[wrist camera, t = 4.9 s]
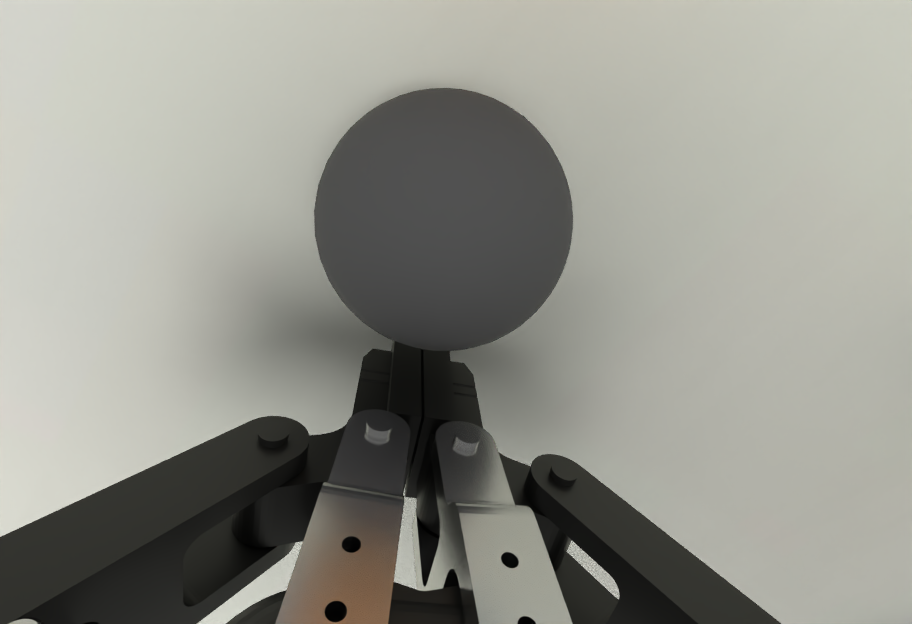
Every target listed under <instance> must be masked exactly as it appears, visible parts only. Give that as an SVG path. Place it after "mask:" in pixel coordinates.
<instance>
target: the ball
mask: <svg viewBox="0 0 912 624" xmlns="http://www.w3.org/2000/svg"><path fill="white" fill-rule="evenodd" d="M314 215H315V237H316V242H317V246H318V251H319V255H320V260H321V262H322V264H323V267H324V269H325V272H326V274H327V276H328V279H329V281H330V283H331V284H332V286H333V288H334V289H335V291H336V292H337V294H338V295H339V297H340V298H341V300H342V301H343V302H344V303H345V305H346V306H347V307H348V308H349V309H350V310H351V311H352V312H353V313H354V314H355V315H356V316H357V317H358V318H359V319H360V320H361V321H362V322H364V323H365V324H367V325H368V326H369V327H371V328H372V329H374V330H375V331H377V332H378V333H380V334H382V335H383V336H385V337H387V338H389V339H392V340H394V341H396V342H399V343H402V344H405V345H408V346H411V347H415V348H420V349H425V350H433V351H454V350H463V349H468V348H473V347H477V346H480V345H483V344H487V343H490V342H492V341H495V340H497V339H499V338H501V337H503V336H505V335H506V334H508V333H510V332H511V331H513V330H515V329H516V328H518V327H519V326H521V325H522V324H523V323H524V322H525V321H526V320H528V319H529V318H530V317H531V316H532V315H533V314H534V313H535V312H536V311H537V310H538V309H539V308H540V307H541V306H542V304H543V303H544V302H545V301H546V299H547V298H548V297H549V295H550V294H551V292H552V291H553V289H554V287H555V286H556V284H557V282H558V280H559V278H560V276H561V274H562V271H563V269H564V266H565V264H566V260H567V257H568V254H569V249H570V245H571V239H572V230H573V212H572V201H571V196H570V190H569V187H568V183H567V179H566V177H565V174H564V171H563V169H562V166H561V164H560V162H559V160H558V158H557V156H556V155H555V153H554V151H553V149H552V148H551V146H550V144H549V143H548V142H547V141H546V140H545V138H544V137H543V136H542V135H541V133H540V132H539V131H538V130H537V129H536V128H535V126H533V125H532V124H531V123H530V122H529V121H528V120H527V119H526V118H525V117H524V116H522V115H521V114H519V113H518V112H516V111H515V110H513V109H512V108H510V107H509V106H507V105H505V104H503V103H501V102H499V101H497V100H495V99H493V98H491V97H488V96H485V95H482V94H480V93H476V92H472V91H467V90H462V89H451V88H435V89H425V90H419V91H414V92H410V93H407V94H404V95H400V96H398V97H396V98H394V99H391V100H389V101H387V102H385V103H383V104H381V105H379V106H378V107H376V108H374V109H373V110H371V111H370V112H368V113H367V114H366V115H364V116H363V117H362V118H361V119H360V120H359V121H357V122H356V123H355V124H354V125H353V126H352V127H351V128H350V129H349V130H348V131H347V133H346V134H345V135H344V136H343V137H342V138H341V140H340V141H339V143H338V144H337V146H336V148H335V149H334V151H333V152H332V154H331V156H330V158H329V159H328V161H327V163H326V166H325V169H324V171H323V174H322V177H321V180H320V182H319V185H318V191H317V197H316V203H315V210H314Z"/></svg>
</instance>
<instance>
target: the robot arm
mask: <svg viewBox="0 0 912 624" xmlns="http://www.w3.org/2000/svg"><path fill="white" fill-rule="evenodd" d="M405 484H406V487H405ZM404 488H405V497H412V498H417V508H416V512H415V515H414V519H413V523H412V533H413V546H414V559H415V572H416V585H417V590H416V589H413V588H410V587H407V586H404V585H401V584H398V583H395V582H394V574H395V566H396V559H397V551H398V543H399V536H400V528H401V520H402V513H403V505H404V496H403V492H404ZM571 540H572V541H574V542H575V543H576V544H577V545H578V546H579V547H580V548H581V549H582V550H583V551H585V552H586V553H587V554H588V555H589V556H590V557H591V558H592V559H593V560H594V561H596V562H597V563H598V564H599V565H600V566H601V567H602V568H603V569H604V570H605V571H607V572H608V573H609V574H610V575H611V576H612V578H613V579H614V580H615V582H616V584H617V586H618V589H619V593H620V598H619V600H618V599H617V598H616V597H614V596H613V595H612V594H611V593H610V592H609V591H608V590H607V589H606V588H605V587H604V586H603V585H601V584H600V583H599V582H598V581H597V580H596V579H595V578H594V577H593V576H592V575H591V574H590V573H589V572H588V571H586V570H585V569H584V568H583V567H582V566H581V565H580V564H579V563H578V562H577V561H576V560H575V559H574V558H573V557H572V556H570V555H569V554H568V553H567V552H566V551H567V549H568V547H569V545H570V543H571ZM300 541H303V543H302V546H301V549H300V552H299V555H298V558H297V561H296V564H295V567H294V570H293V573H292V576H291V579H290V582H289V585H288V588H287V590H286V591H282V592H279V593H277V594H274V595H272V596H269V597H267V598H265V599H263V600H261V601H259V602H257V603H255V604H253V605H252V606H250V607H248V608H247V609H245V610H244V611H242V612H241V613H239V614H238V615H236V616H235V617H234V618H233V619H231V620H230V621H229V622H228V623H226V624H781V623H780V622H778V621H777V620H776V619H775V618H773V617H772V616H771V615H770V614H768V613H767V612H766V611H764V610H763V609H762V608H761V607H759V606H758V605H757V604H756V603H754V602H753V601H752V600H750V599H749V598H748V597H747V596H745V595H744V594H743V593H742V592H740V591H739V590H738V589H736V588H735V587H734V586H733V585H731V584H730V583H729V582H727V581H726V580H725V579H724V578H722V577H721V576H720V575H719V574H717V573H716V572H715V571H713V570H712V569H711V568H710V567H708V566H707V565H706V564H705V563H703V562H702V561H701V560H699V559H698V558H697V557H696V556H694V555H693V554H692V553H691V552H689V551H688V550H687V549H685V548H684V547H683V546H682V545H680V544H679V543H678V542H677V541H675V540H674V539H673V538H671V537H670V536H669V535H668V534H666V533H665V532H664V531H662V530H661V529H660V528H659V527H657V526H656V525H655V524H654V523H652V522H651V521H650V520H648V519H647V518H646V517H645V516H643V515H642V514H641V513H640V512H638V511H637V510H636V509H634V508H633V507H632V506H631V505H629V504H628V503H627V502H626V501H624V500H623V499H622V498H620V497H619V496H618V495H617V494H615V493H614V492H613V491H612V490H610V489H609V488H608V487H606V486H605V485H604V484H603V483H601V482H600V481H599V480H598V479H596V478H595V477H594V476H592V475H591V474H590V473H589V472H587V471H586V470H585V469H583V468H582V467H581V466H580V465H578V464H577V463H575V462H574V461H572V460H570V459H568V458H565V457H562V456H559V455H553V454H545V455H541V456H538V457H537V458H535V459H534V460H533V462H532V464H531V466H528V465H525V464H522V463H520V462H517V461H514V460H512V459H510V458H507V457H505V456H504V455H502V454H500V453H499V452H498V450H497V446H496V443H495V441H494V439H493V438H492V436H491V435H490V434H489V433H488V432H487V431H486V430H484V429H483V426H482V421H481V415H480V410H479V404H478V399H477V393H476V388H475V383H474V377H473V374H472V373H471V371H470V370H469V369H468V368H467V367H466V365H465V364H464V363H459V362H453V361H450V353H449V351H433V350H425V349H420V348H415V347H411V346H408V345H405V344H402V343H399V342H396V341H394V340H393V344H392V349H391V352H390V351H384V350H378V349H372V350H371V351H370V352H369V353H368V354H367V355H365V356H364V357H363V362H362V367H361V372H360V378H359V383H358V388H357V393H356V398H355V404H354V409H353V414H352V417H351V418H350V419H349V420H348V422H347V424H346V425H345V426H344V427H343V428H341V429H339V430H337V431H334V432H331V433H327V434H321V435H311V436H309V434H308V431H307V430H306V428H305V427H304V426H303V425H302V424H300V423H299V422H297V421H295V420H293V419H290V418H286V417H281V416H267V417H261V418H257V419H254V420H252V421H250V422H247V423H245V424H243V425H241V426H239V427H237V428H234V429H232V430H230V431H228V432H226V433H224V434H221V435H219V436H217V437H215V438H213V439H211V440H209V441H206V442H204V443H202V444H200V445H198V446H196V447H193V448H191V449H189V450H187V451H185V452H183V453H181V454H178V455H176V456H174V457H172V458H170V459H168V460H165V461H163V462H161V463H159V464H157V465H155V466H153V467H150V468H148V469H146V470H144V471H142V472H140V473H137V474H135V475H133V476H131V477H129V478H127V479H125V480H122V481H120V482H118V483H116V484H114V485H112V486H109V487H107V488H105V489H103V490H101V491H99V492H96V493H94V494H92V495H90V496H88V497H86V498H84V499H81V500H79V501H77V502H75V503H73V504H71V505H68V506H66V507H64V508H62V509H60V510H58V511H56V512H53V513H51V514H49V515H47V516H45V517H43V518H40V519H38V520H36V521H34V522H32V523H30V524H28V525H25V526H23V527H21V528H19V529H17V530H15V531H12V532H10V533H8V534H6V535H4V536H2V537H0V624H197V623H198V622H199V621H201V620H202V619H203V618H205V617H206V616H207V615H209V614H210V613H211V612H213V611H214V610H215V609H216V608H218V607H219V606H220V605H222V604H223V603H224V602H226V601H227V600H228V599H230V598H231V597H232V596H234V595H235V594H236V593H237V592H239V591H240V590H241V589H243V588H244V587H245V586H247V585H248V584H249V583H251V582H252V581H253V580H255V579H256V578H257V577H259V576H260V575H261V574H262V573H264V572H265V571H266V570H268V569H269V568H270V567H272V566H273V565H274V564H276V563H277V562H278V561H280V560H281V559H282V558H283V557H285V556H286V555H287V554H288V553H289V552H290V551H291V550H292V548H293V546H294V545H295V542H300Z"/></svg>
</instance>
